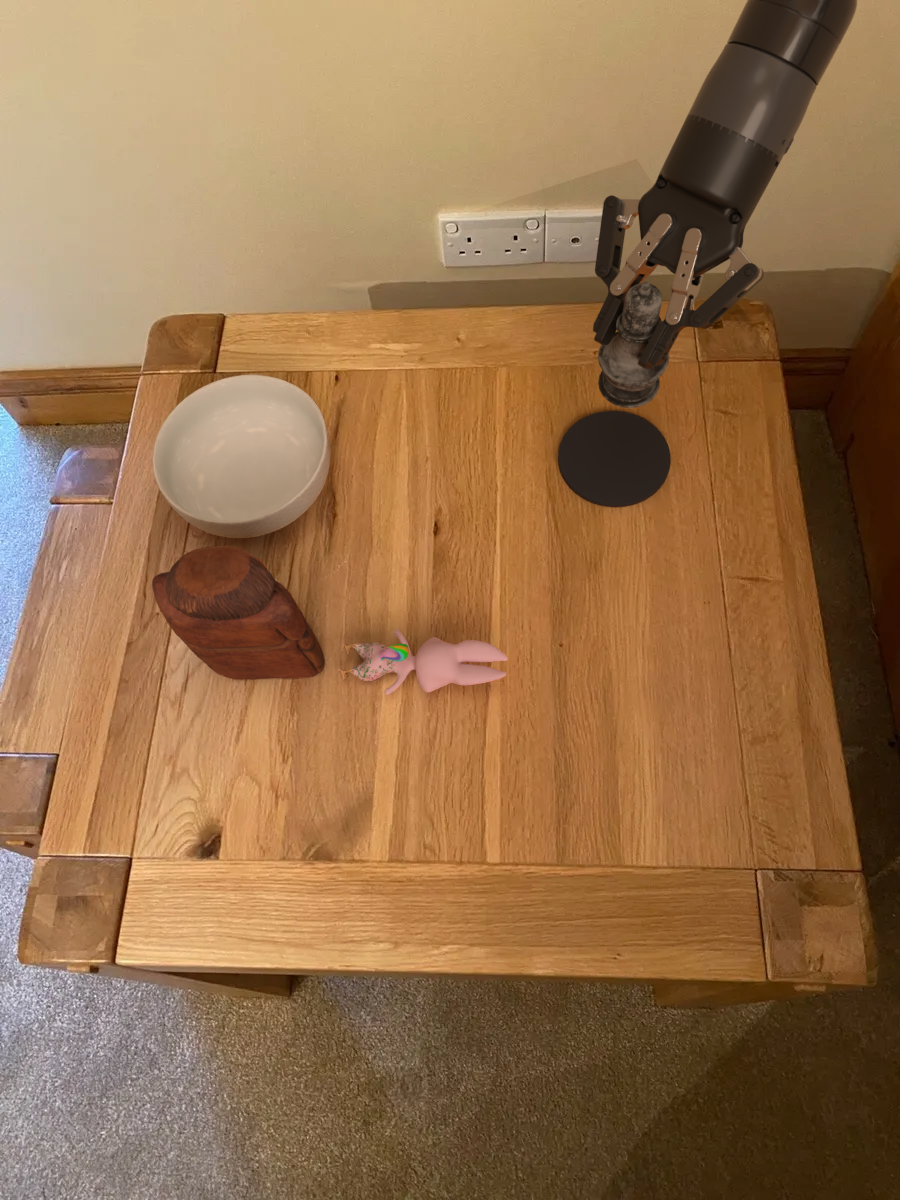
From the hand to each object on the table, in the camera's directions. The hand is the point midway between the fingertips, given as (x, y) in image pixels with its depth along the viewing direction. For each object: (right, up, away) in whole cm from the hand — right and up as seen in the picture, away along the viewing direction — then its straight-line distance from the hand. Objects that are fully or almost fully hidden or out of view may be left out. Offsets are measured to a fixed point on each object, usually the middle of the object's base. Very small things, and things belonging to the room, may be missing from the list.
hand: (623, 353), depth 71 cm
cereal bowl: (-33, -8, +18) cm, 39 cm away
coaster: (+2, -6, +17) cm, 18 cm away
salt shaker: (+2, -1, +6) cm, 6 cm away
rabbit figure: (-16, -26, +9) cm, 32 cm away
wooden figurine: (-31, -25, +11) cm, 41 cm away
